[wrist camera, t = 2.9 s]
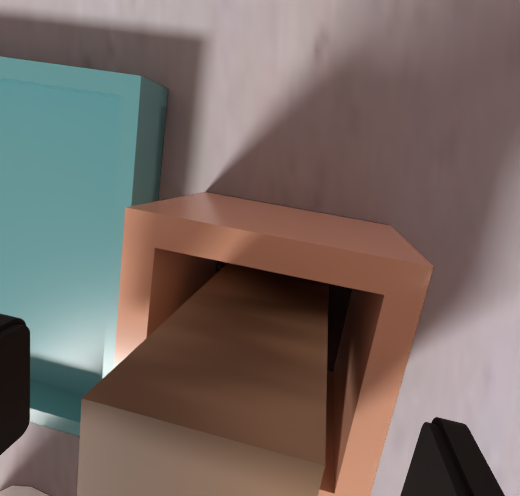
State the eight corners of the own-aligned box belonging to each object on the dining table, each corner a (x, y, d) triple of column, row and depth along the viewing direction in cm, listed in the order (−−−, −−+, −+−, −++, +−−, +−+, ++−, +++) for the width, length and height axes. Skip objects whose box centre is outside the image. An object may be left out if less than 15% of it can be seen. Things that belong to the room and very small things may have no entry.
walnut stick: (329, 264, 17) (325, 465, 6) (312, 343, 18) (280, 655, 6) (244, 247, 18) (81, 398, 6) (232, 324, 19) (72, 582, 7)
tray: (168, 88, 17) (141, 75, 14) (138, 414, 21) (113, 446, 18) (-77, 54, 19) (-138, 37, 16) (-61, 358, 23) (-108, 381, 20)
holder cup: (391, 225, 16) (433, 266, 9) (349, 395, 18) (360, 529, 11) (204, 192, 17) (125, 207, 11) (185, 354, 19) (107, 454, 13)
